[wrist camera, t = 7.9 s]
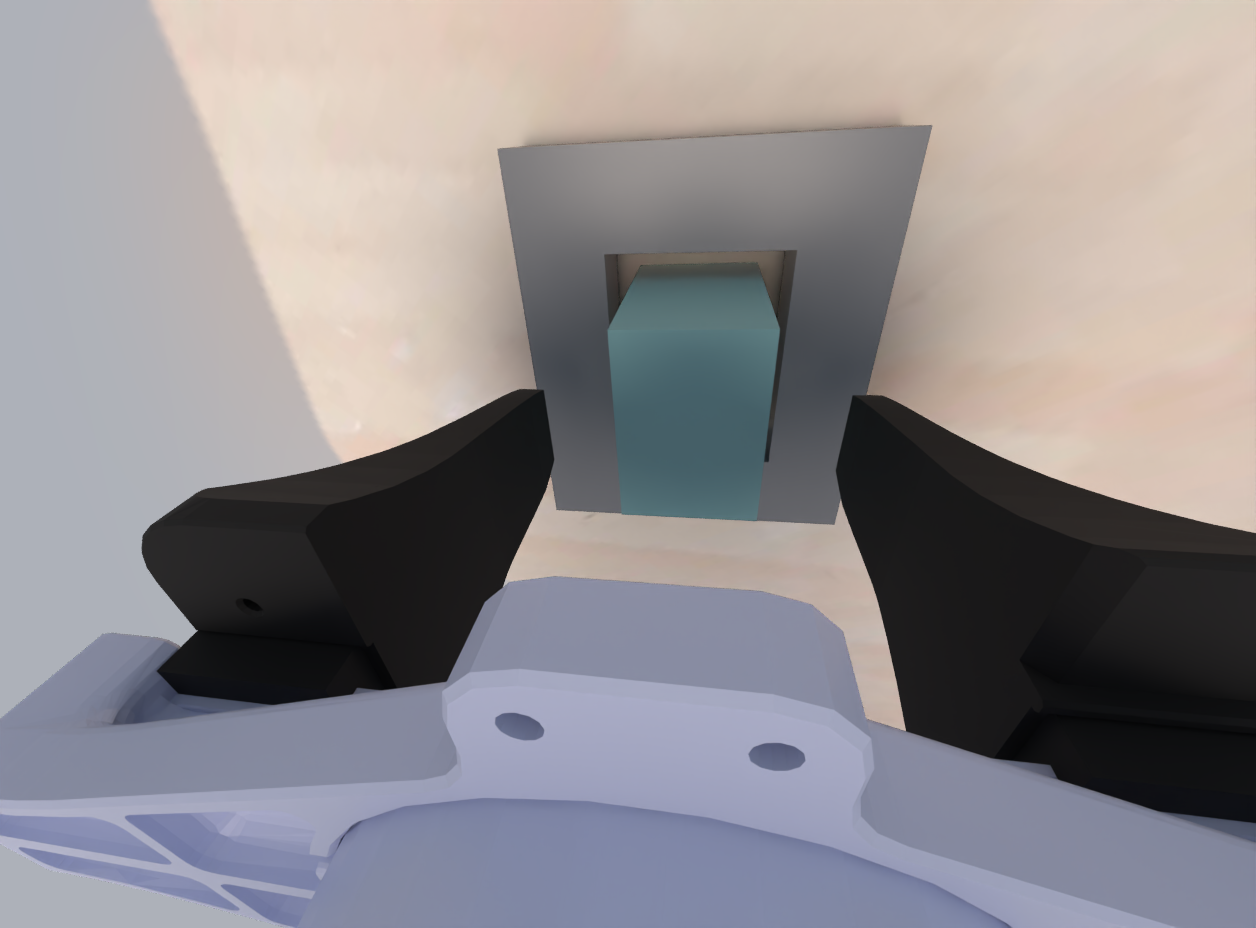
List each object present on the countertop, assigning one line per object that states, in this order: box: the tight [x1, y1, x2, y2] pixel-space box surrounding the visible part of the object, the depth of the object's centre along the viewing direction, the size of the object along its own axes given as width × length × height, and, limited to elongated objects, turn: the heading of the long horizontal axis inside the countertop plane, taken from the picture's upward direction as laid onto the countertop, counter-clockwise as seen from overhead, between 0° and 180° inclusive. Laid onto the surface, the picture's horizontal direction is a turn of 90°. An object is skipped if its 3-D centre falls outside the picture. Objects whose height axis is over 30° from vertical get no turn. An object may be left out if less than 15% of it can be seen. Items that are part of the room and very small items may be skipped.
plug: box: [608, 262, 780, 521], centre depth 14 cm, size 5×4×6 cm
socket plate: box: [498, 125, 932, 525], centre depth 16 cm, size 12×10×2 cm
